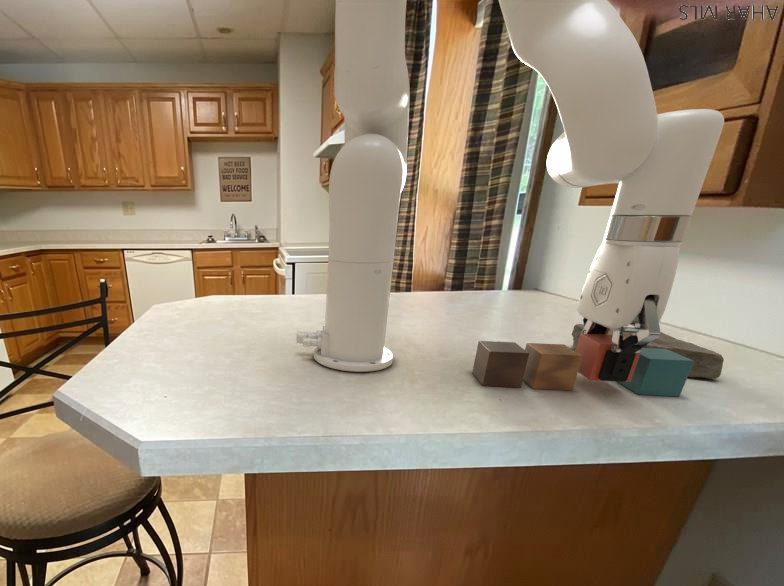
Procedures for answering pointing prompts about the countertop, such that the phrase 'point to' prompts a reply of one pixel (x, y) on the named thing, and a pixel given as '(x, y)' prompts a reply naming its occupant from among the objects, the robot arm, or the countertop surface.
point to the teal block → (659, 373)
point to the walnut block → (500, 364)
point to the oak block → (551, 366)
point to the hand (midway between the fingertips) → (599, 371)
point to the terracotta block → (596, 354)
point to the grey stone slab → (704, 359)
